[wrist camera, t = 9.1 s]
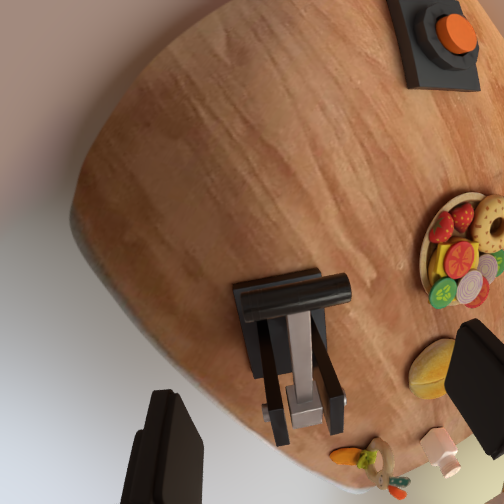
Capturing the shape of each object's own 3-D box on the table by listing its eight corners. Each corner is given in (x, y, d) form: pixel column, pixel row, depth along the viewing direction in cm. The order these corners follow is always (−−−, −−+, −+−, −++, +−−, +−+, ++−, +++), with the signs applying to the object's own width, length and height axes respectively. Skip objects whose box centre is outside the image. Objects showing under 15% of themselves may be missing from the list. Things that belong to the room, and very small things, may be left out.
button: (431, 15, 18) (441, 10, 16) (460, 21, 18) (471, 17, 16) (440, 51, 19) (452, 48, 18) (468, 56, 19) (480, 53, 18)
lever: (238, 280, 15) (242, 315, 13) (339, 260, 15) (356, 292, 13) (270, 406, 23) (274, 433, 21) (332, 393, 23) (340, 419, 21)
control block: (384, -5, 20) (403, -20, 17) (447, 6, 20) (468, -4, 17) (407, 89, 24) (430, 84, 20) (467, 92, 24) (492, 90, 20)
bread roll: (459, 326, 34) (476, 343, 30) (452, 374, 37) (465, 391, 33) (406, 349, 34) (421, 369, 30) (404, 396, 37) (415, 415, 33)
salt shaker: (431, 426, 41) (453, 466, 32) (445, 426, 42) (467, 463, 33) (417, 441, 42) (437, 481, 33) (432, 440, 43) (452, 478, 34)
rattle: (355, 427, 38) (378, 491, 28) (393, 432, 40) (419, 488, 29) (325, 456, 40) (342, 516, 30) (364, 459, 42) (383, 512, 31)
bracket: (232, 283, 29) (233, 379, 17) (318, 267, 29) (368, 351, 17) (253, 372, 33) (262, 470, 21) (325, 357, 33) (360, 449, 21)
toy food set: (505, 191, 28) (523, 197, 25) (487, 294, 32) (502, 305, 29) (419, 189, 27) (438, 196, 24) (405, 310, 32) (419, 325, 29)
